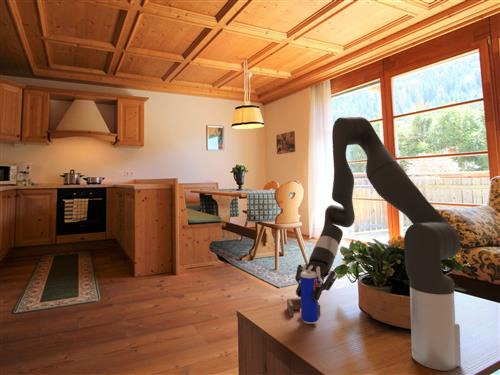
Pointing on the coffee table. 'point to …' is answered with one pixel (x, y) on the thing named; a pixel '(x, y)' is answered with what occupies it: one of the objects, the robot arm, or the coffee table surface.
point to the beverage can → (308, 297)
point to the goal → (296, 305)
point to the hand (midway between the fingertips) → (306, 297)
